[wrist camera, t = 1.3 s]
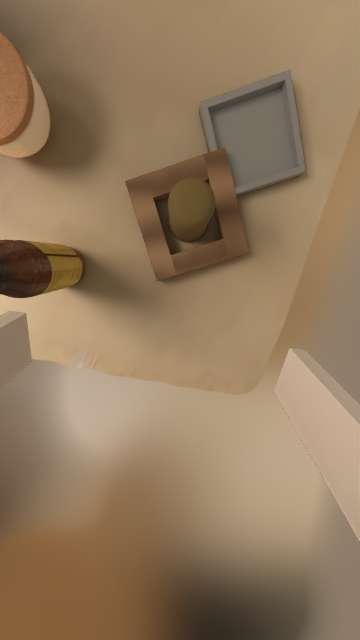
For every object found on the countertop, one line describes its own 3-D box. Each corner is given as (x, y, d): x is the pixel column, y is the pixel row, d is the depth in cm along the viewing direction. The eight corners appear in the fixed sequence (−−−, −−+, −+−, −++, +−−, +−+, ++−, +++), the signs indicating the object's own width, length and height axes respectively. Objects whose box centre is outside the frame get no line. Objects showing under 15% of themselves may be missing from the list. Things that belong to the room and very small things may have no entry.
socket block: (128, 186, 33) (125, 181, 31) (222, 154, 32) (225, 146, 30) (158, 280, 36) (157, 281, 34) (244, 253, 35) (248, 253, 33)
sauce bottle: (38, 257, 35) (-135, 248, 16) (72, 238, 34) (-66, 202, 15) (62, 295, 36) (-70, 328, 17) (95, 277, 36) (-4, 290, 16)
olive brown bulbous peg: (187, 189, 33) (190, 152, 22) (217, 219, 34) (234, 197, 23) (160, 222, 34) (150, 203, 23) (189, 251, 35) (194, 244, 24)
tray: (199, 111, 31) (200, 102, 29) (283, 81, 30) (290, 69, 28) (220, 201, 33) (222, 198, 31) (299, 176, 32) (305, 170, 31)
